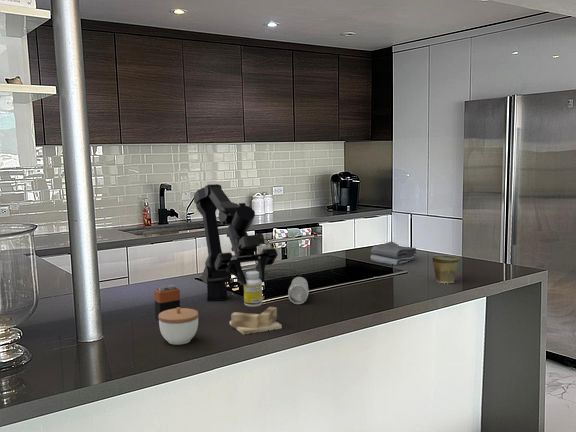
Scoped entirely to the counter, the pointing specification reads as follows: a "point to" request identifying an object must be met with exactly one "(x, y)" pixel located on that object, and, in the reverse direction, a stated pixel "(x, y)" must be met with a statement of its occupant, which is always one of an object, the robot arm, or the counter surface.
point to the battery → (166, 299)
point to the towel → (392, 253)
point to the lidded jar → (178, 325)
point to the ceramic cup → (445, 268)
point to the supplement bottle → (253, 289)
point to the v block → (255, 321)
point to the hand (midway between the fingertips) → (254, 282)
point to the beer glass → (298, 290)
